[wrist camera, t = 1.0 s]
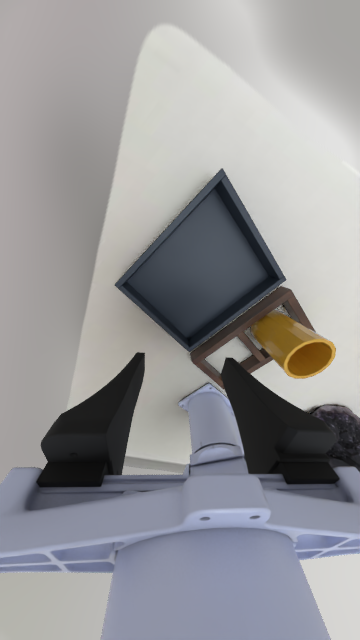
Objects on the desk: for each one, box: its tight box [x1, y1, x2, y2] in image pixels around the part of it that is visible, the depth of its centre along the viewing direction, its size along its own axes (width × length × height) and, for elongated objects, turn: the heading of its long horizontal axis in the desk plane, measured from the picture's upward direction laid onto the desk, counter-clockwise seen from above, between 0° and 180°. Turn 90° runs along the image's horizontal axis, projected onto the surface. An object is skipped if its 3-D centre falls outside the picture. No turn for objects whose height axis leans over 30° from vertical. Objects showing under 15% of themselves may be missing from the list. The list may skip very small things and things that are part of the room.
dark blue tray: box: [115, 168, 286, 352], centre depth 19 cm, size 13×15×3 cm
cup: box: [251, 310, 336, 379], centre depth 20 cm, size 5×5×8 cm
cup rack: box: [190, 286, 315, 389], centre depth 24 cm, size 9×17×2 cm, turn 132°
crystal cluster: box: [311, 405, 360, 472], centre depth 32 cm, size 13×14×10 cm
